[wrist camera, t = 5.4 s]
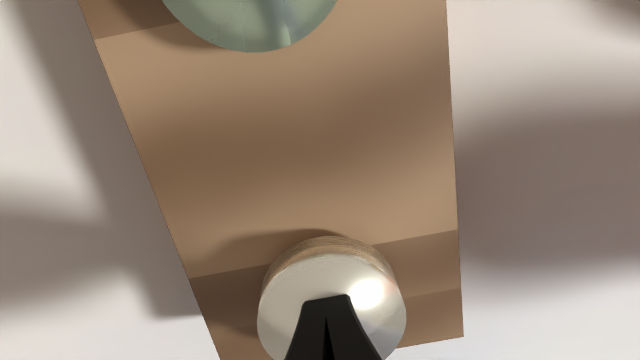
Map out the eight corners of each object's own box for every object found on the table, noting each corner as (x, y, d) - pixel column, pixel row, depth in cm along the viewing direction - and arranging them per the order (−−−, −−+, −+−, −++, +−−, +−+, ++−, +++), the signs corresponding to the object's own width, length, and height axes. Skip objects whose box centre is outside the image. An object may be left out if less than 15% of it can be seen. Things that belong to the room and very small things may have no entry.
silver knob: (385, 276, 17) (413, 365, 12) (282, 295, 17) (276, 389, 13) (371, 182, 15) (398, 249, 11) (256, 204, 15) (239, 278, 11)
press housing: (434, 277, 18) (463, 336, 15) (240, 312, 18) (227, 377, 15) (393, -207, 11) (430, -295, 8) (85, -138, 11) (-1, -197, 8)
